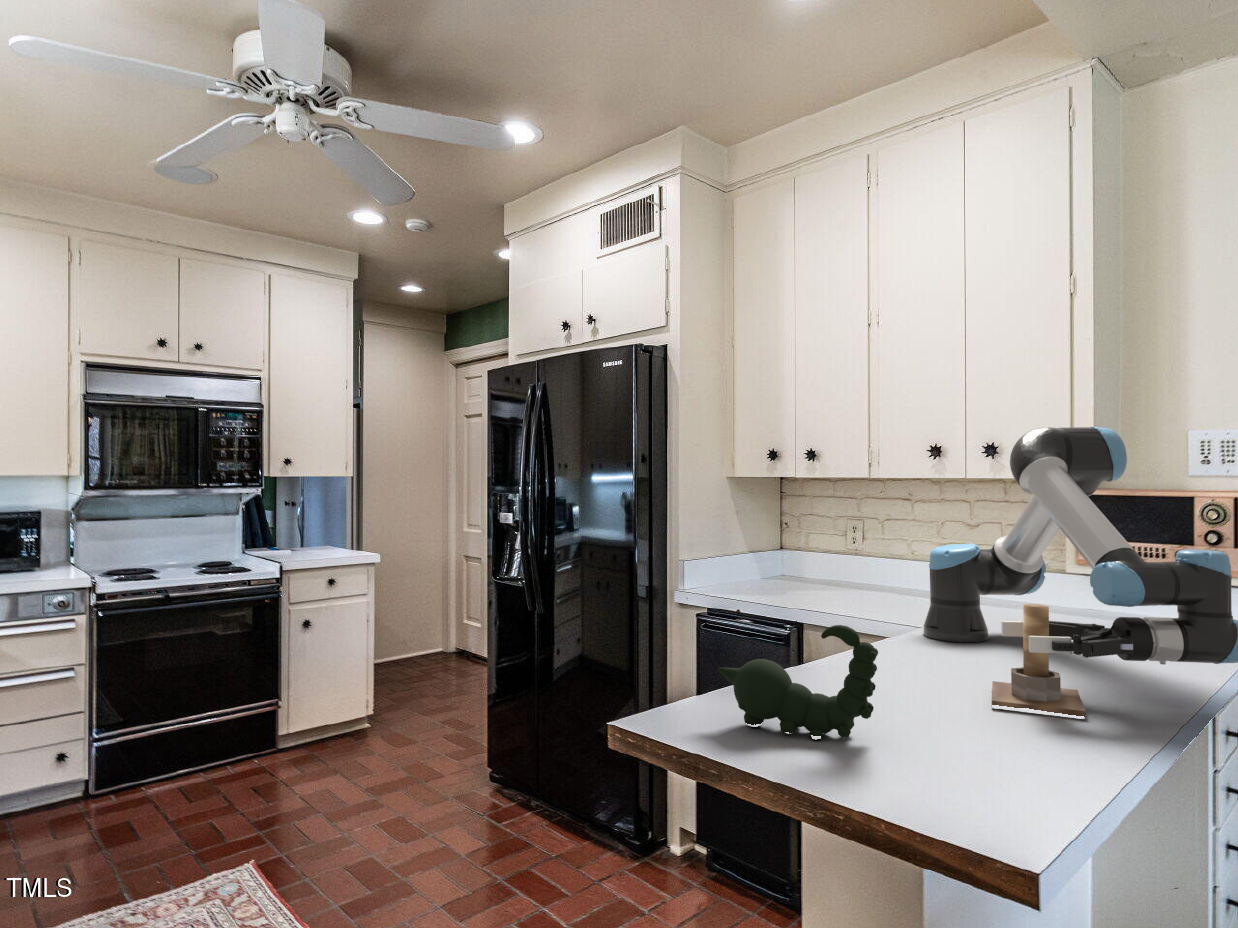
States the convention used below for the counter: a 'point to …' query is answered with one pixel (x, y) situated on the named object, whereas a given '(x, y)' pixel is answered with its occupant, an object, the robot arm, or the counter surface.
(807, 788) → the counter surface
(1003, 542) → the robot arm
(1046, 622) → the oak cylinder
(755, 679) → the toy figurine
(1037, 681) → the cup bracket
